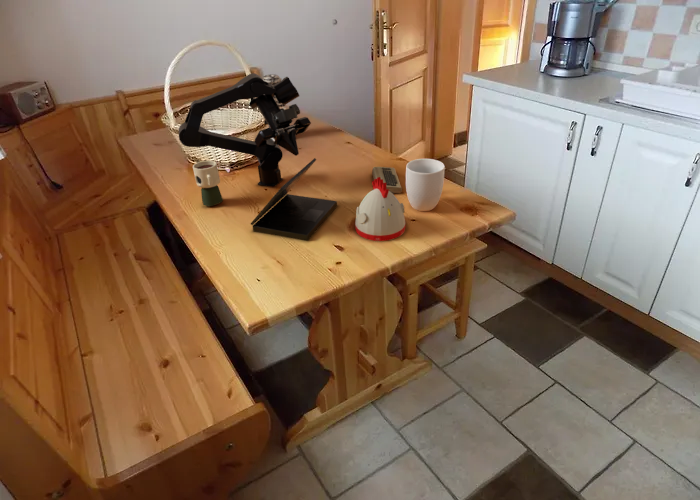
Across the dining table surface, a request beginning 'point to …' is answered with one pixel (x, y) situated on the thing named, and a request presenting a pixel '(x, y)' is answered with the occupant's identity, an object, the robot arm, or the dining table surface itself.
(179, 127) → the robot arm
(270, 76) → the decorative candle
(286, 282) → the dining table surface
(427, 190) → the mug
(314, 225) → the laptop
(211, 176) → the character mug
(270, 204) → the laptop screen
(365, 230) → the kitchen timer
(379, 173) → the computer
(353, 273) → the dining table surface
